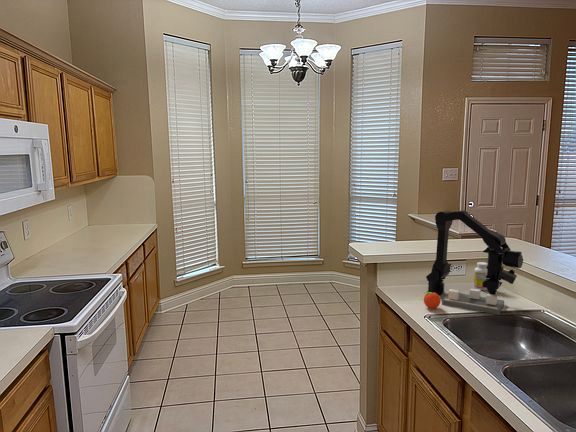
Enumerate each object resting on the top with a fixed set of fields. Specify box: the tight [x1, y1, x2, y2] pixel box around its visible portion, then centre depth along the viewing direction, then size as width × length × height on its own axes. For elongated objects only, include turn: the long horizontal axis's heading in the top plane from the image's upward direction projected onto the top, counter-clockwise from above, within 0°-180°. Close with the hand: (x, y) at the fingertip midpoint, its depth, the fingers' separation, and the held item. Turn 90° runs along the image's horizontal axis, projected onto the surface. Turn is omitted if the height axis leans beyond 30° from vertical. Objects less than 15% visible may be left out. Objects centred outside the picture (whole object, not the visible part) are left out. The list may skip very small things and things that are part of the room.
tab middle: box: [468, 287, 482, 299], centre depth 193 cm, size 4×3×4 cm
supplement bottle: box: [473, 261, 489, 291], centre depth 212 cm, size 7×7×13 cm
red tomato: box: [421, 291, 441, 310], centre depth 187 cm, size 8×7×7 cm
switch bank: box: [441, 292, 505, 316], centre depth 191 cm, size 23×14×2 cm, turn 56°
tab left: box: [448, 288, 461, 300], centre depth 192 cm, size 4×3×4 cm
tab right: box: [485, 293, 498, 305], centre depth 185 cm, size 4×3×4 cm
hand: (492, 298), depth 188 cm, fingers closed
